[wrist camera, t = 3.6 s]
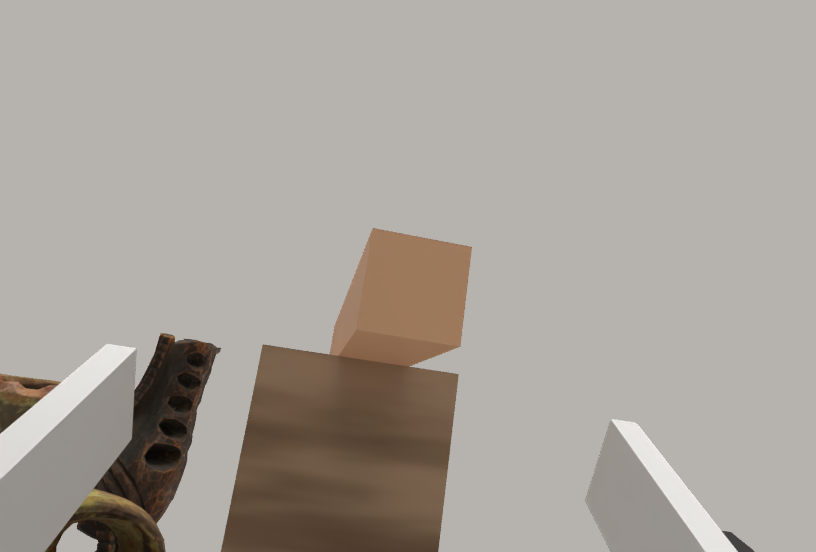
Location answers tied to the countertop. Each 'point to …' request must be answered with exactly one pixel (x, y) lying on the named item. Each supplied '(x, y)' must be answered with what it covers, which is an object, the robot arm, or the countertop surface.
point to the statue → (157, 432)
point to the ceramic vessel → (131, 524)
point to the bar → (404, 300)
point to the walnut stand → (342, 456)
